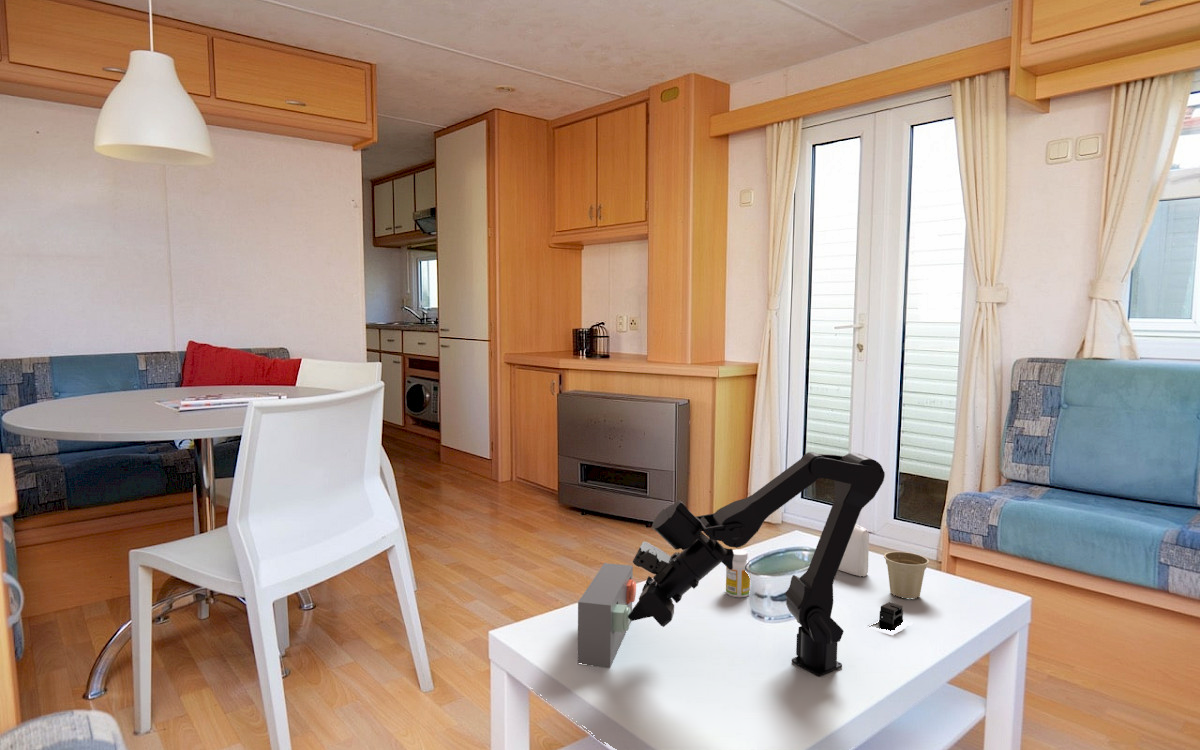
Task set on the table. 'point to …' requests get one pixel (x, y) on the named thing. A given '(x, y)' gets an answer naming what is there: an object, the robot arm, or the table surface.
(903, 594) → the flower pot
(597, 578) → the control box
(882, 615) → the black grooved cube
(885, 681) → the table surface
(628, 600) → the button red
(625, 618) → the button green
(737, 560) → the supplement bottle
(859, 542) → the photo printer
